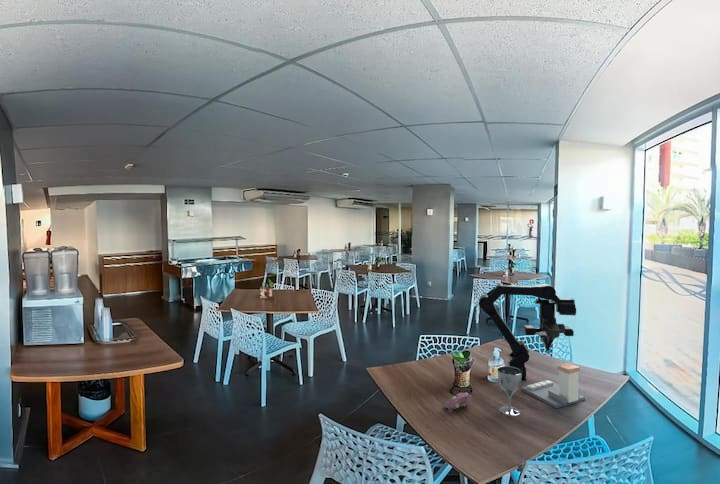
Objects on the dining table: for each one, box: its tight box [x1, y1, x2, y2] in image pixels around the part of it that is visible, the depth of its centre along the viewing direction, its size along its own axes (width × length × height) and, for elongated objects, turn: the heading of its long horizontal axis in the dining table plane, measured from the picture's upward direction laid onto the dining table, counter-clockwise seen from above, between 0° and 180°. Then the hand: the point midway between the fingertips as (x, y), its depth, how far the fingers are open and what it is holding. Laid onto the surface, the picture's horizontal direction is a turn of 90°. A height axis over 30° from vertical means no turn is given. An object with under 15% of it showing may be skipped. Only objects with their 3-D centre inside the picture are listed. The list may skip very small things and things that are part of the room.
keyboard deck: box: [520, 379, 586, 409], centre depth 140 cm, size 16×15×3 cm
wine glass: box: [496, 365, 522, 417], centre depth 129 cm, size 8×8×15 cm
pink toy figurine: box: [443, 391, 473, 410], centre depth 132 cm, size 10×5×7 cm, turn 119°
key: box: [557, 362, 580, 403], centre depth 133 cm, size 5×6×12 cm
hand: (547, 350), depth 153 cm, fingers closed
